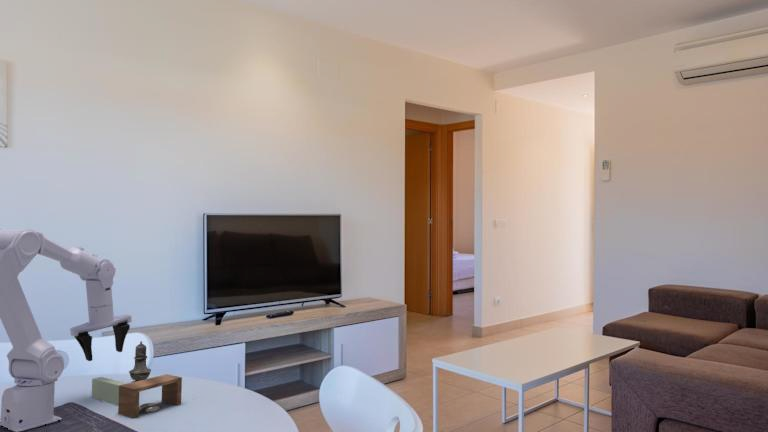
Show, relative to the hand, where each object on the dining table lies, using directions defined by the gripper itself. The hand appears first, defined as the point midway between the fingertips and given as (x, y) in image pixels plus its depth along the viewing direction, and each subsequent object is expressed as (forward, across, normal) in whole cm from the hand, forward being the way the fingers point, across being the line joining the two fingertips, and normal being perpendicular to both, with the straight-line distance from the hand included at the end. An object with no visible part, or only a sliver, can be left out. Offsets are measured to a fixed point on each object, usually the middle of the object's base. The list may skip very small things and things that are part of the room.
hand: (104, 355), depth 140 cm
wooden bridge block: (+10, -2, +19) cm, 22 cm away
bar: (+10, +1, +6) cm, 12 cm away
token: (+10, -1, +20) cm, 23 cm away
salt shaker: (+13, -11, -5) cm, 18 cm away
